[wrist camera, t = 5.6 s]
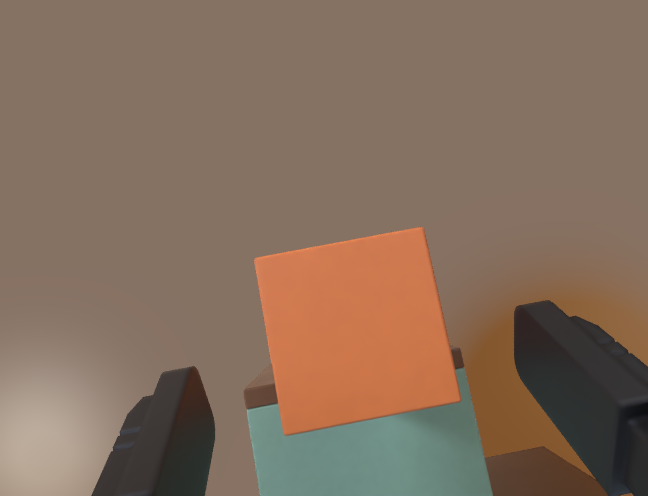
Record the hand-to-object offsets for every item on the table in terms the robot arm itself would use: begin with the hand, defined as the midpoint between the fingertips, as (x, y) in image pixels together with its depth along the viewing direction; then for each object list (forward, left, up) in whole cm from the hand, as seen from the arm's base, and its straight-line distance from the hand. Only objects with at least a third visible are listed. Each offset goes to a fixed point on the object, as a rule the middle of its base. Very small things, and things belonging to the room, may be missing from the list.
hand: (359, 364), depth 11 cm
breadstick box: (-3, +9, -1) cm, 10 cm away
